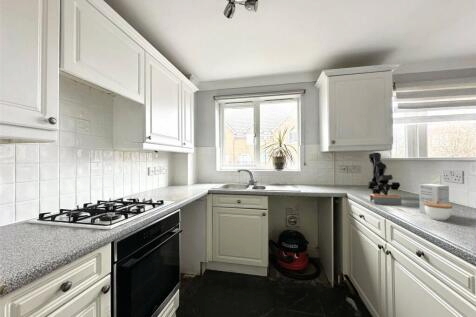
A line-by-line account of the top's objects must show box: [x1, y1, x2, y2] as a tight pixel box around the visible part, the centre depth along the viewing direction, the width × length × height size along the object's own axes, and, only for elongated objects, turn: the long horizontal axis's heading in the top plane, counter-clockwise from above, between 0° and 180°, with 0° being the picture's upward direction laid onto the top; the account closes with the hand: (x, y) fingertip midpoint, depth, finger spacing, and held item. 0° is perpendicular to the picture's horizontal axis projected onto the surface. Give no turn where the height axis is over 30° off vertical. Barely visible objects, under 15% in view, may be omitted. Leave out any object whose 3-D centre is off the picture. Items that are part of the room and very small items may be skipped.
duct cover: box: [369, 193, 402, 199], centre depth 144 cm, size 8×16×1 cm, turn 73°
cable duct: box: [369, 194, 402, 206], centre depth 145 cm, size 9×16×5 cm, turn 73°
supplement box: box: [418, 183, 450, 215], centre depth 117 cm, size 10×9×17 cm
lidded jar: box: [424, 201, 453, 221], centre depth 108 cm, size 11×11×9 cm
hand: (386, 195), depth 142 cm, fingers closed, pressing on duct cover
